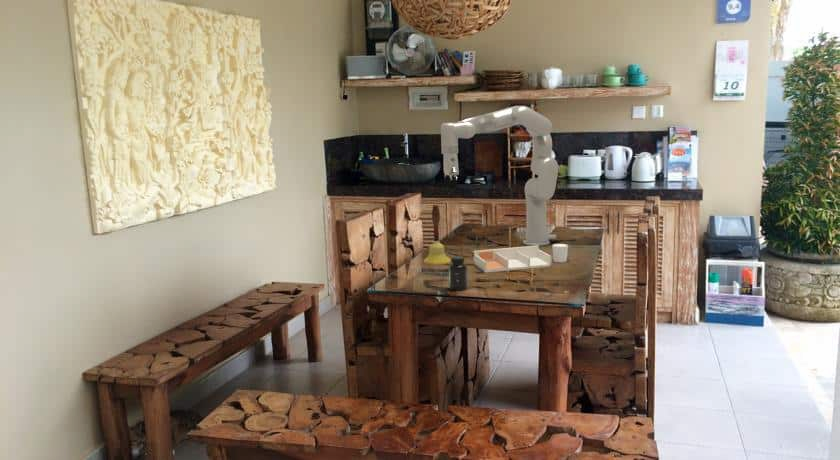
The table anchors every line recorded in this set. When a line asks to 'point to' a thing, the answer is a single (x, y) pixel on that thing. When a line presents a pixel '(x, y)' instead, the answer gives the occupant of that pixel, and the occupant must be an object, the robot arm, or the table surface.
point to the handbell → (436, 242)
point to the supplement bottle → (457, 274)
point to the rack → (511, 259)
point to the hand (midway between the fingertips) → (450, 187)
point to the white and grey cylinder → (560, 252)
